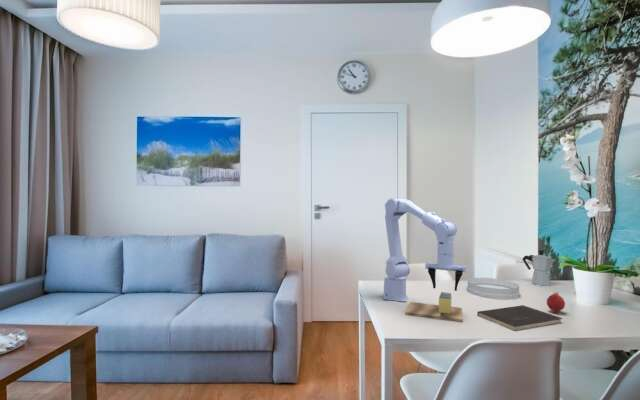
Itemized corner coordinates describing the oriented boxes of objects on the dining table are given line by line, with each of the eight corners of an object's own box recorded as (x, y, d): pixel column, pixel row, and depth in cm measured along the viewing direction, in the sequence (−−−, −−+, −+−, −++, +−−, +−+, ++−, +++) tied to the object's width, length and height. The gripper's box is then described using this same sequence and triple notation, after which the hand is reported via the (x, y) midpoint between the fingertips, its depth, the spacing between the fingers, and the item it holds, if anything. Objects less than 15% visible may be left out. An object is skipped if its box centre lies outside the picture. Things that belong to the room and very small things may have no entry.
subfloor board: (405, 314, 128) (405, 311, 128) (409, 304, 141) (409, 301, 141) (462, 322, 121) (462, 318, 121) (461, 310, 134) (461, 307, 134)
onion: (559, 316, 128) (559, 294, 128) (543, 311, 134) (543, 291, 134) (567, 313, 131) (568, 293, 131) (551, 309, 136) (552, 289, 136)
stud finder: (438, 312, 127) (438, 296, 127) (440, 307, 134) (440, 291, 134) (450, 313, 126) (450, 297, 126) (451, 308, 132) (451, 293, 132)
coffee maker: (557, 285, 175) (557, 250, 175) (554, 288, 169) (554, 252, 169) (524, 280, 186) (524, 247, 186) (520, 283, 179) (520, 249, 179)
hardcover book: (562, 324, 121) (562, 318, 121) (514, 332, 113) (514, 325, 113) (521, 310, 136) (521, 304, 136) (477, 316, 128) (477, 310, 128)
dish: (528, 295, 157) (529, 284, 157) (504, 303, 145) (504, 291, 145) (482, 285, 176) (483, 275, 176) (457, 291, 163) (457, 281, 163)
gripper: (466, 253, 131) (465, 288, 131) (426, 250, 137) (426, 284, 137) (465, 256, 124) (465, 293, 124) (424, 253, 130) (424, 288, 130)
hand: (444, 289), depth 130 cm, fingers open, 7 cm apart
